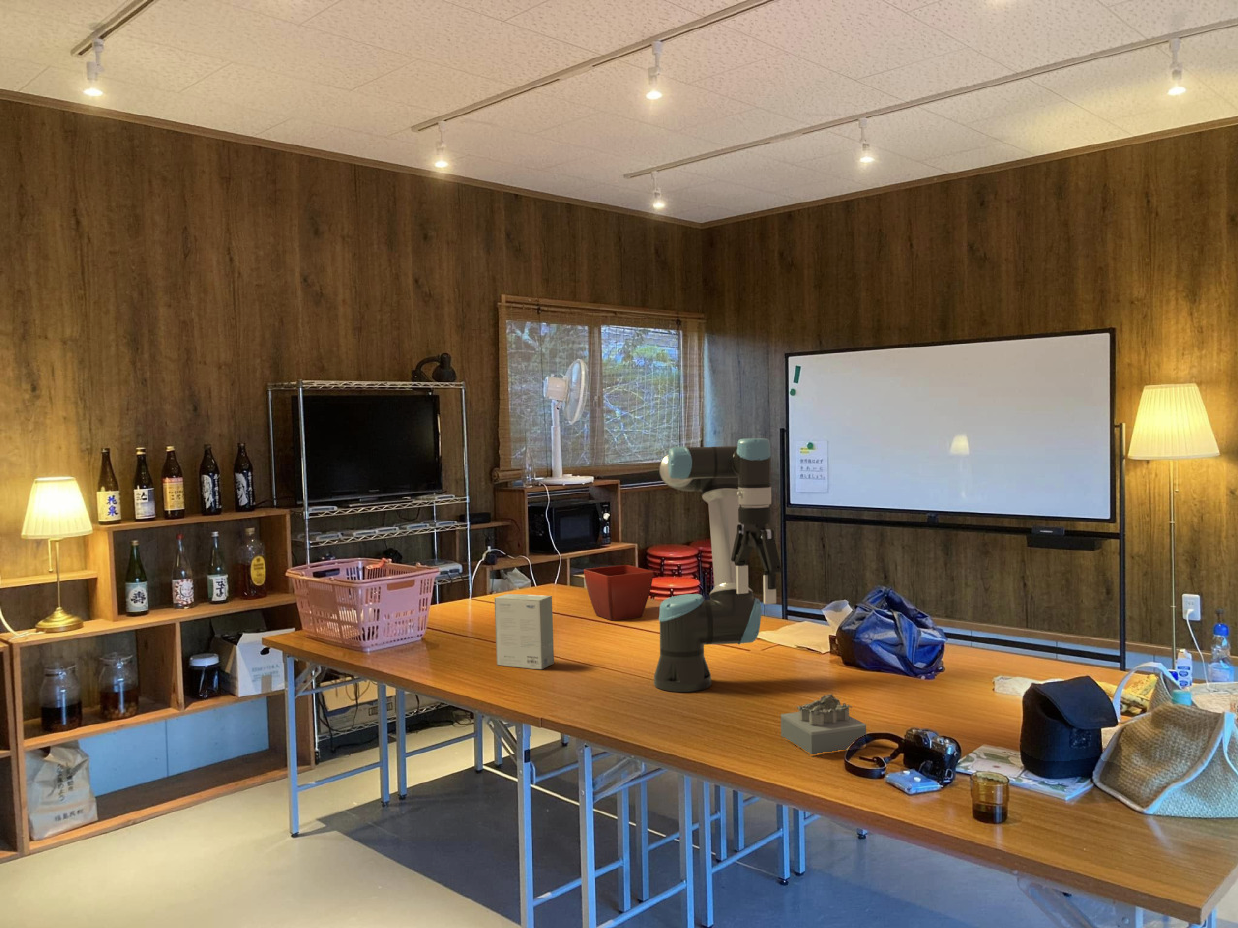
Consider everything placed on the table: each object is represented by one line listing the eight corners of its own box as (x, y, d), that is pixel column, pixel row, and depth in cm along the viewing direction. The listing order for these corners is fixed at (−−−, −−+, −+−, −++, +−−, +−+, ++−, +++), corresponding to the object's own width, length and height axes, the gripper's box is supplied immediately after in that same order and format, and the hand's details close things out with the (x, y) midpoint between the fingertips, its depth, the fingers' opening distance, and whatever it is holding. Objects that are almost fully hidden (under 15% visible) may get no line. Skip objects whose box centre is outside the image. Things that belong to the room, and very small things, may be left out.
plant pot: (655, 617, 334) (654, 570, 333) (609, 624, 324) (608, 575, 324) (628, 609, 351) (627, 564, 350) (583, 615, 341) (582, 569, 340)
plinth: (781, 736, 204) (780, 714, 204) (833, 729, 209) (832, 707, 208) (811, 756, 192) (811, 732, 192) (866, 748, 196) (866, 724, 196)
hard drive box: (555, 663, 272) (553, 595, 271) (542, 670, 265) (540, 600, 264) (509, 659, 278) (507, 592, 277) (495, 665, 271) (493, 597, 270)
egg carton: (833, 711, 206) (833, 692, 206) (855, 720, 199) (855, 701, 199) (793, 717, 202) (793, 698, 201) (814, 727, 195) (814, 708, 195)
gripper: (716, 502, 224) (717, 590, 225) (765, 511, 200) (766, 609, 201) (744, 501, 226) (746, 588, 227) (796, 509, 203) (797, 606, 204)
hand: (755, 598), depth 214 cm, fingers open, 13 cm apart
